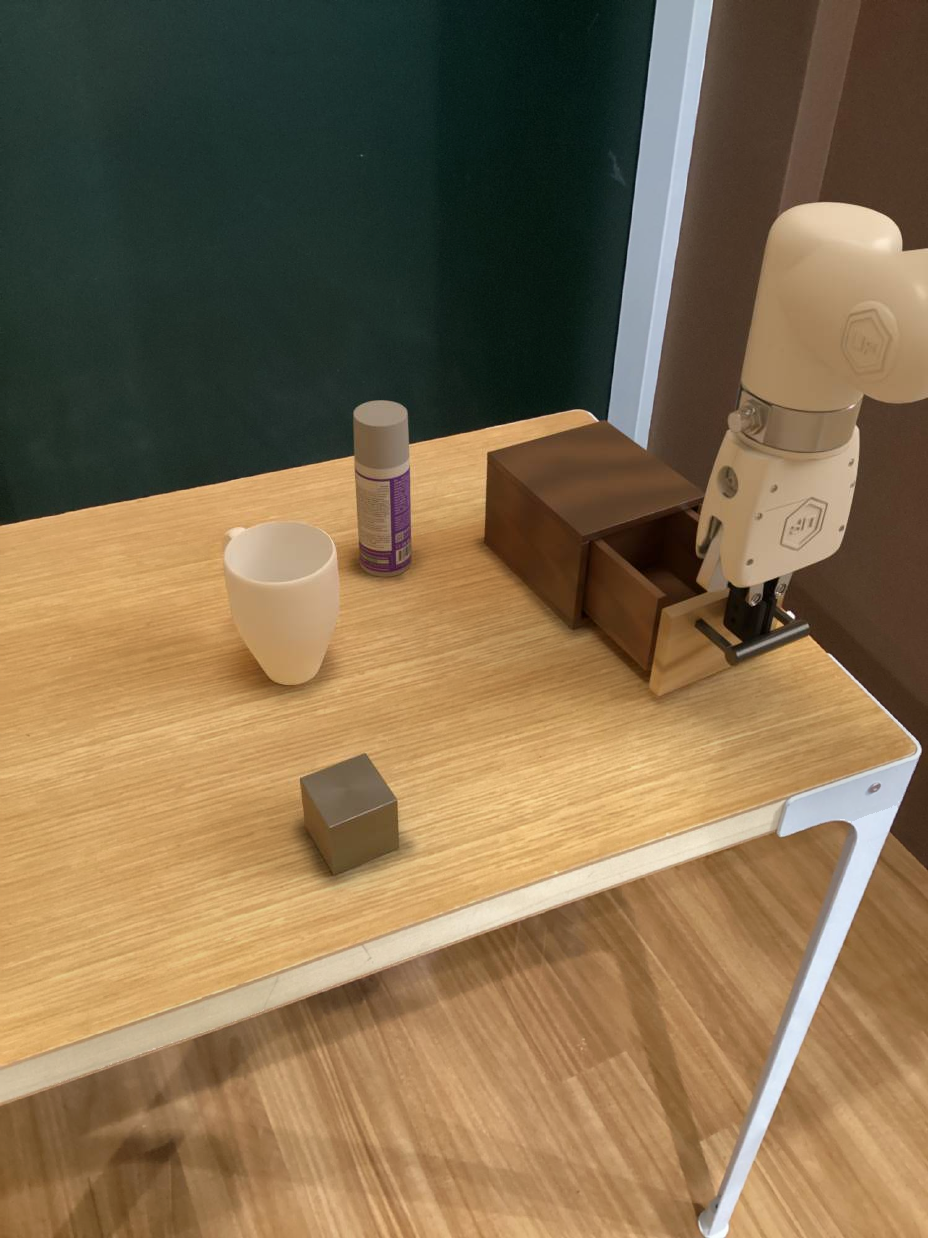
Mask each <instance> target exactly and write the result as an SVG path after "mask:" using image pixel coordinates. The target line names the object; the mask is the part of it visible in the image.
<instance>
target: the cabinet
mask: <svg viewBox="0 0 928 1238" xmlns="http://www.w3.org/2000/svg"><path fill="white" fill-rule="evenodd" d="M485 480H486V481H485V482H486V483H485V510H484V511H485V513H484V539H483V542H484V544H485V545H486V546H487V547H488V548H489V549H490V550H491V551H492V552H493V553H494V554H495V555H496V556H497V557H498V558H499V559H500V560H501V561H502V562H503V563H504V564H505V565H506V566H507V567H508V568H509V569H510V570H511V571H512V572H513V573H514V574H515V575H516V576H517V577H518V578H519V579H520V580H521V581H522V582H524V584H526V586H527V587H529V589H530V590H531V591H532V592H534V594H535V595H537V596H538V598H539V599H540V600H542V602H543V603H545V605H547V606H548V608H550V610H551V611H552V612H554V613H555V614H556V615H557V616H558V617H559V618H560V619H561V620H562V621H563V623H564V624H565V625H566V626H568V628H570V629H571V630H572V631H574V630H576V629H580V628H582V627H585V626H587V625H590V624H593V623H595V622H594V621H593V620H592V619H591V618H590V617H589V616H588V615H587V614H586V613H585V612H584V611H583V610H582V603H583V594H584V584H585V575H586V566H587V557H588V548H589V541H592V540H595V539H598V538H601V537H604V536H607V535H610V534H613V533H616V532H619V531H622V530H625V529H628V528H631V527H634V526H637V525H640V524H643V523H646V522H649V521H653V520H656V519H659V518H662V517H665V516H668V515H671V514H674V513H677V512H680V511H683V510H686V509H689V508H691V509H692V510H693V511H695V512H696V513H697V514H699V515H700V514H701V509H702V505H703V501H704V497H705V493H706V492H704V491H703V490H702V489H700V488H699V487H697V486H696V485H694V484H693V483H692V482H690V481H689V480H688V479H686V478H685V477H683V476H682V475H681V474H680V473H679V472H677V471H675V469H673V468H671V466H669V465H667V464H666V463H665V462H663V461H662V460H660V459H659V458H658V457H656V456H655V455H654V454H652V453H651V452H650V451H648V450H647V449H646V448H644V447H642V446H641V445H640V444H639V443H637V442H636V441H635V440H633V439H632V438H631V437H629V436H627V435H626V434H625V433H623V432H622V431H621V430H619V429H618V428H617V427H615V426H614V425H613V424H612V423H610V422H609V421H607V420H606V419H602V420H599V421H596V422H592V423H588V424H584V425H581V426H577V427H573V428H570V429H566V430H563V431H559V432H556V433H553V434H548V435H545V436H541V437H537V438H533V439H530V440H526V441H523V442H520V443H516V444H512V445H509V446H505V447H502V448H498V449H495V450H491V451H487V453H486V479H485Z"/></svg>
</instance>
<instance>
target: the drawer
mask: <svg viewBox="0 0 928 1238" xmlns="http://www.w3.org/2000/svg"><path fill="white" fill-rule="evenodd" d="M699 519H700V515H699V514H697V513H696V512H695V511H693V510H692V509H691V508H689V509H686V510H683V511H680V512H677V513H674V514H671V515H668V516H665V517H662V518H659V519H656V520H653V521H649V522H646V523H643V524H640V525H637V526H634V527H631V528H628V529H625V530H622V531H619V532H616V533H613V534H610V535H607V536H604V537H601V538H598V539H595V540H592V541H589V548H588V557H587V566H586V575H585V584H584V594H583V603H582V610H583V611H584V612H585V613H586V614H587V615H588V616H589V617H590V618H591V619H592V620H593V621H594V622H593V623H595V625H597V626H598V627H599V628H600V629H601V630H602V631H603V632H604V633H605V634H606V635H607V636H608V637H610V638H611V639H612V641H614V642H615V643H616V644H617V645H618V646H619V647H620V648H621V649H622V650H623V651H624V652H625V653H626V654H627V655H628V656H629V657H630V658H631V659H632V660H633V661H634V662H636V664H637V665H639V666H640V667H641V668H642V669H643V671H645V672H648V671H651V672H650V677H649V683H648V688H649V689H650V691H652V692H653V693H654V694H655V695H656V696H657V697H660V696H663V695H665V694H666V695H667V694H668V693H670V692H673V691H675V690H678V689H680V688H682V687H685V686H688V685H690V684H693V683H695V682H697V681H700V680H702V679H704V678H706V677H709V676H711V675H714V674H716V673H719V672H721V671H724V670H727V669H728V668H731V667H738V666H740V665H742V664H745V663H746V662H747V663H748V662H749V661H752V660H754V659H756V658H759V657H761V656H764V655H766V654H769V653H771V652H774V651H776V650H778V649H781V648H784V647H786V646H788V645H790V644H792V643H793V644H794V643H795V642H799V641H800V640H803V639H806V638H807V637H808V636H810V634H811V627H810V625H809V623H808V622H807V621H806V620H805V619H803V618H799V619H796V620H795V619H794V618H793V617H792V616H790V615H789V614H788V613H787V612H785V611H784V610H783V609H782V606H783V601H784V598H785V594H786V591H785V592H784V593H783V594H782V595H781V596H776V598H777V599H778V601H777V605H776V609H775V613H774V617H773V621H772V625H771V629H770V631H769V632H766V633H764V634H761V635H759V636H756V637H754V638H751V639H749V640H746V641H744V642H742V641H741V640H740V639H738V638H737V637H736V636H735V635H734V634H732V633H731V632H730V631H729V630H728V629H726V628H725V627H724V625H723V619H724V614H725V609H726V605H727V600H728V595H729V591H730V589H726V591H719V592H711V593H710V592H708V591H707V590H705V589H704V588H703V587H702V586H700V585H699V584H698V583H697V582H696V579H697V576H698V573H699V571H700V568H701V566H702V563H703V561H704V559H702V558H699V557H698V556H697V554H696V537H697V530H698V524H699ZM778 622H779V623H781V624H782V626H779V627H777V625H778Z"/></svg>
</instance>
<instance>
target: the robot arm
mask: <svg viewBox="0 0 928 1238" xmlns="http://www.w3.org/2000/svg"><path fill="white" fill-rule="evenodd" d="M757 286H758V287H757V291H756V296H755V301H754V307H753V312H752V317H751V322H750V327H749V332H748V338H747V342H746V343H747V344H746V348H745V354H744V359H743V365H742V369H741V376H740V380H739V385H738V389H737V395H736V401H735V406H734V411H732V412H730V413H729V414H728V415H727V426H728V428H729V429H727V430H726V432H725V435H724V437H723V440H722V442H721V444H720V447H719V450H718V452H717V456H716V458H715V461H714V464H713V467H712V470H711V473H710V476H709V480H708V483H707V487H706V490H705V492H704V493H705V497H704V501H703V505H702V509H701V514H700V519H699V524H698V530H697V537H696V554H697V556H698V557H699V558H702V559H704V561H703V563H702V566H701V568H700V571H699V573H698V576H697V579H696V582H697V583H698V584H699V585H700V586H702V587H703V588H704V589H705V590H707V591H708V592H710V593H711V592H719V591H726V589H730V591H729V595H728V600H727V605H726V609H725V614H724V619H723V625H724V627H725V628H726V629H728V630H729V631H730V632H731V633H732V634H734V635H735V636H736V637H737V638H738V639H740V640H741V641H742V642H744V641H746V640H749V639H751V638H754V637H756V636H759V635H761V634H764V633H766V632H769V631H770V629H771V625H772V621H773V617H774V613H775V609H776V605H777V601H778V599H777V598H776V596H781V595H782V594H783V593H784V592H785V593H786V591H787V590H788V586H789V585H790V583H791V579H792V576H793V573H794V572H796V571H798V570H801V569H803V568H806V567H808V566H810V565H813V564H816V563H818V562H821V561H823V560H825V559H828V558H829V557H831V556H832V555H834V554H835V553H836V552H837V551H838V550H839V548H840V547H841V544H842V542H843V539H844V536H845V532H846V529H847V524H848V520H849V516H850V512H851V507H852V503H853V498H854V493H855V487H856V483H857V476H858V467H859V461H860V460H859V458H860V429H859V427H858V426H857V421H858V417H859V413H860V410H861V406H862V403H863V398H864V395H865V396H866V397H869V398H871V399H873V400H876V401H879V402H883V403H886V404H899V405H900V404H909V403H914V402H918V401H922V400H924V399H927V398H928V247H927V248H920V249H912V250H911V249H910V250H903V238H902V232H901V231H900V228H899V226H898V225H897V224H896V223H895V221H894V220H893V219H891V218H890V217H889V216H887V215H885V214H883V213H881V212H879V211H876V210H874V209H871V208H869V207H865V206H861V205H857V204H852V203H844V202H834V201H833V202H831V201H822V202H821V201H820V202H810V203H809V202H808V203H803V204H798V205H795V206H793V207H790V208H788V209H787V210H785V211H783V212H782V213H781V214H780V215H779V216H777V218H776V219H775V221H774V222H773V224H772V225H771V227H770V229H769V232H768V235H767V240H766V244H765V248H764V253H763V257H762V264H761V269H760V274H759V280H758V285H757Z"/></svg>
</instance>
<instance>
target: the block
mask: <svg viewBox="0 0 928 1238" xmlns="http://www.w3.org/2000/svg"><path fill="white" fill-rule="evenodd" d="M299 785H300V792H301V793H300V795H301V804H302V812H303V820H304V827H305V828H306V830H307V832H308V834H309V835H310V837H311V839H312V841H313V842H314V844H315V845H316V847H317V849H318V851H319V853H320V854H321V856H322V858H323V860H324V861H325V863H326V865H327V867H328V868H329V870H330V872H331V874H332V875H333V876H336V875H340V874H341V873H344V872H347V871H348V870H350V869H353V868H356V867H358V866H360V865H363V864H364V863H367V862H369V861H372V860H374V859H376V858H378V857H381V856H383V855H385V854H388V853H391V852H392V851H395V850H397V849H399V848H400V836H399V834H400V833H399V831H400V830H399V802H398V798H397V797H396V796H395V794H394V792H393V791H392V790H391V788H390V786H389V785H388V784H387V782H386V780H385V779H384V778H383V776H382V775H381V773H380V772H379V771H378V769H377V767H376V766H375V764H374V763H373V762H372V760H371V758H370V757H369V756H368V754H367V753H366V752H363V753H361V754H358V755H355V756H353V757H350V758H348V759H346V760H343V761H340V762H337V763H334V764H333V765H330V766H327V767H325V768H322V769H320V770H316V771H315V772H312V773H309V774H307V775H304V776H301V777H300V778H299Z"/></svg>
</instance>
